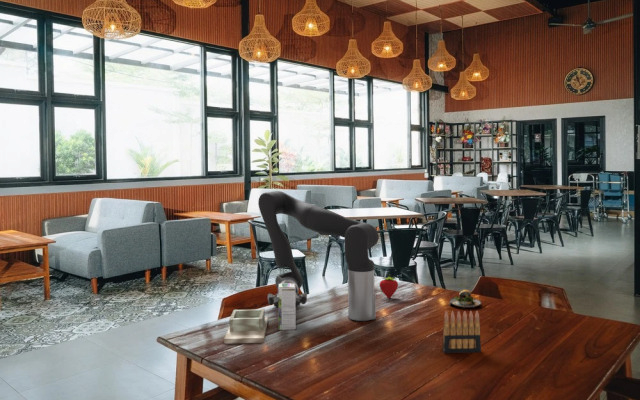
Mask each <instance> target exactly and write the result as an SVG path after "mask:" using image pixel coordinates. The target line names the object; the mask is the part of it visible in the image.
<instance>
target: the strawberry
mask: <svg viewBox="0 0 640 400" xmlns="http://www.w3.org/2000/svg"><path fill="white" fill-rule="evenodd" d="M388 275H389V276H387V277H382V280H381V281H380V282H379V288H380V290H381V291H382V293H383V294H384V295H385V296H386V298H387V299H391V298H392V296H393V295H394V294H395V293H396V291H397V289H398V288H399V283H398V281H397V280H396V279H397V278H395V277H391V274H390V273H388Z"/></svg>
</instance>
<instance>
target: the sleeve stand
mask: <svg viewBox="0 0 640 400" xmlns="http://www.w3.org/2000/svg"><path fill="white" fill-rule="evenodd" d="M265 313H266V311H265V308H261V309H259V308H258V309H233V311H232V313H231V315H230V316H229V317H230V318H229V320H228V323H229V327H228V330H227V332H226V334H225V335H224V339H223V341H224V344H257V343H259V344H260V343H261V344H262V343H265V337H266V333H267V327H268V322H269V316H266V315H265Z"/></svg>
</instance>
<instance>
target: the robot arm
mask: <svg viewBox="0 0 640 400" xmlns="http://www.w3.org/2000/svg"><path fill="white" fill-rule="evenodd" d="M257 204H258V209H259V213H260V215H261V217H262V220H263V223H264V225H265V228H266V231H267V234H268V236H269V239H270V242H271V245H272V246H271V247H272V250H273V254H274V260H275V263H276V267H277V268H285V269H286V268H288V269H289V270H290V271H289V272H285V273H279V274H278V275H277V276H276V277H275V279H274V283H275V286H276V288H277V293H276V294H272V293H270V292H269V293H267V301H268V302H267V303H268V305H270V306H272V305H273V307H275V308H277V309H278V292H279V284H281V283H294V284H295V292H296V308H299V306H301V305H304V304H306V303H307V301H308V292H303V293H301V294H300V293H299V289H300V288H301V287H302V286H303V283H304V280H303V276H302V274H301V272H299V269H298V267H297V265H296V263H295V260H294V256H293V251H292V247H291V242H290V240H289V239H288V237H287V236H286V234H285V233H284V232H283V230H282V228H281V226H280V224H279V222H278V216H277V215H287V216H290V217H292V218H294V219H295V220H297V222H299V224H300V225H301V226H302V227H303V228H305V229H307V230H310V231H312V232H315V233H318V234H322V235H329V236H337V237H340V238H341V237H342V238H344V253H345V255H344V256H345V262H346V264H347V294H348V295H347V298H348V299H347V303H348V305H347V306H348V309H347V310H348V311H347V312H348V318H349V319H350V320H353V321H357V322H366V321H370V320H377V319H376V292H375V262H374V261H373V260H372V259H370V258H369V249H371V248H373V247H375V246H376V245H377V243H378V242H379V240H380V239H379V232H378V231H377V229H376V227H375V226H374V225H372V224H371V223H367V222H363V221H358V220H355V219H351V218H349V217H345V216H343V215H340V214H338V213H335V212H333V211H330V210H328V209H326V208H323V207H321V206H318V205H315V204H312V203H309V202H306V201H304V200H303V201H302V200H300V199H297V198H295V197H293V196H291V195H290V194H287V193H285V192H283V191H280V190H272V191H265V192H263V193H261V194H260V195H259V197H258V202H257Z"/></svg>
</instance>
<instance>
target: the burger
mask: <svg viewBox="0 0 640 400" xmlns="http://www.w3.org/2000/svg"><path fill="white" fill-rule="evenodd" d="M451 305H453V306H455V307H460V308H475V307H477V306H479V307H480V308H482V301H480V300H479V299H475V298H474V297H473V296H472V292H471V291H470V290H468V289H462V290H461V291H460V292H459V295H455V296H453V298H450V299H449V304H448V306H449V307H451Z"/></svg>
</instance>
